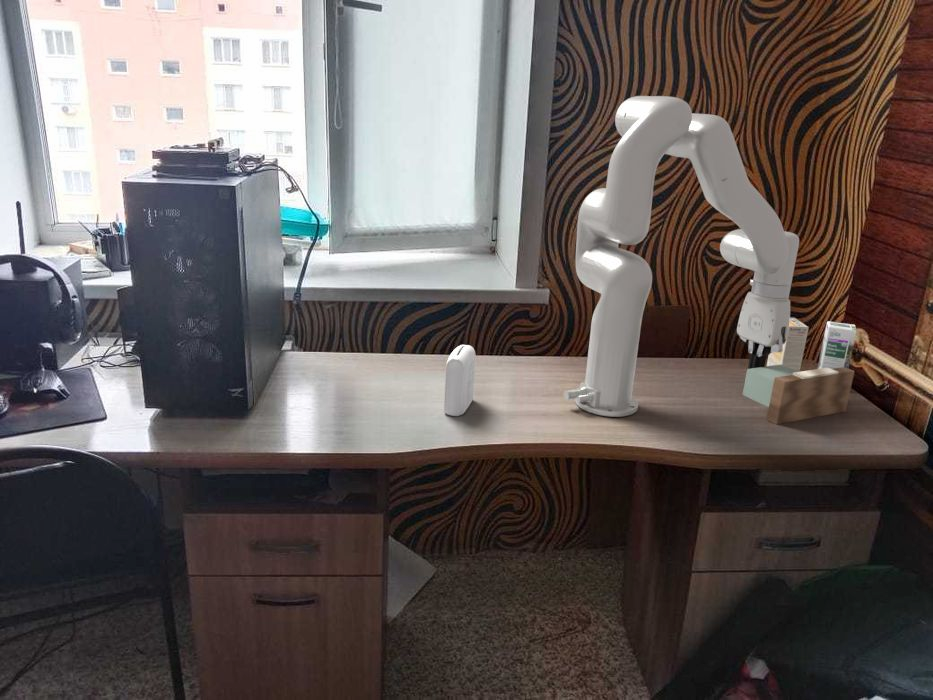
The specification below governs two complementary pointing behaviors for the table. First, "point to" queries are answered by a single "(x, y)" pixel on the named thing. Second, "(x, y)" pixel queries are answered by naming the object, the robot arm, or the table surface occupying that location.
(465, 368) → the photo printer
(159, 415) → the table surface
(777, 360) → the supplement box
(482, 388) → the table surface
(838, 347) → the syrup box
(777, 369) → the sage block
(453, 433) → the table surface
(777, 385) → the board
